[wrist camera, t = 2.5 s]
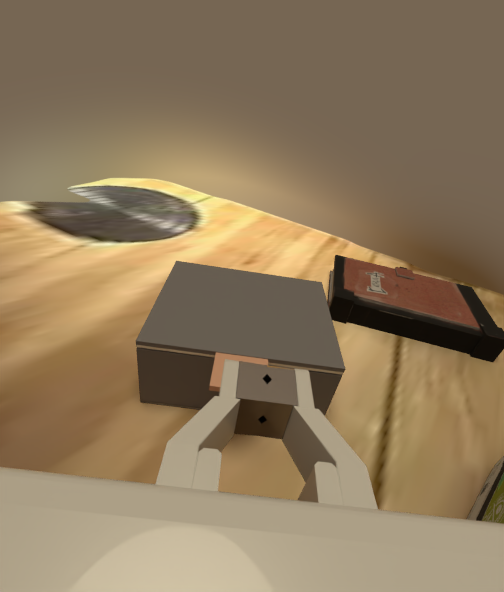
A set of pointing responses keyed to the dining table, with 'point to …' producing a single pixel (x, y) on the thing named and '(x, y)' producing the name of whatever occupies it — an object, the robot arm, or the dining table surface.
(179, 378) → the box
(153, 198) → the dining table surface
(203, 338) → the lid
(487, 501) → the tea box
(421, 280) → the book
